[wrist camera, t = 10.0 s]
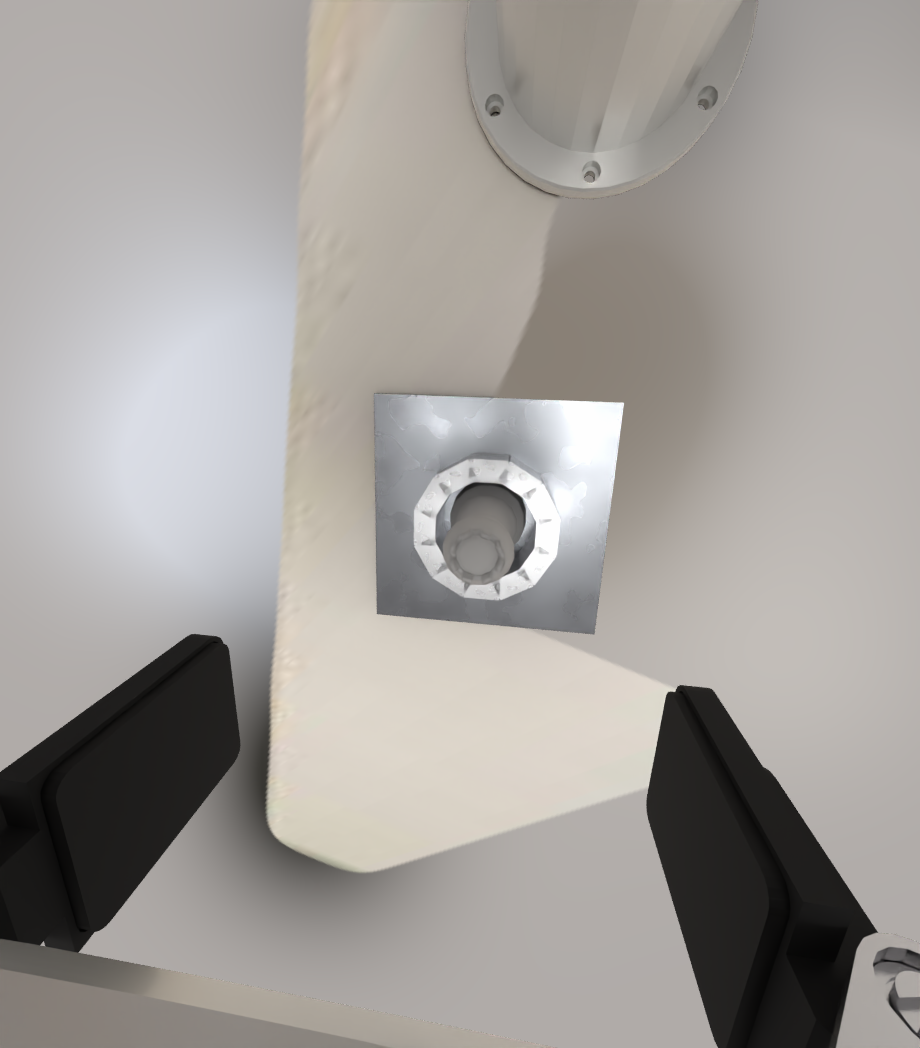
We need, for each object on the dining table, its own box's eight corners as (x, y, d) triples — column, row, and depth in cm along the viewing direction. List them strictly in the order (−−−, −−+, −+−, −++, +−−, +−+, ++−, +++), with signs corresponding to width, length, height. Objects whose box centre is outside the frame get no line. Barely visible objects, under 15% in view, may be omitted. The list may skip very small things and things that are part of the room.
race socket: (376, 393, 27) (356, 392, 23) (622, 402, 25) (637, 403, 22) (379, 610, 30) (361, 636, 27) (592, 630, 29) (602, 660, 25)
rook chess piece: (499, 563, 28) (491, 624, 20) (438, 524, 28) (407, 571, 20) (541, 504, 27) (549, 545, 19) (477, 463, 27) (459, 487, 19)
